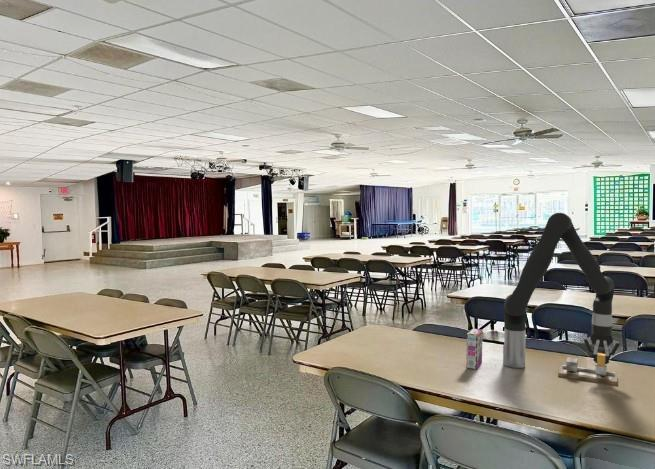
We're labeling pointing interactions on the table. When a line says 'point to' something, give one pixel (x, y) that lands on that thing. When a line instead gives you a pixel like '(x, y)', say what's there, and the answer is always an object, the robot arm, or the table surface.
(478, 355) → the candy bar box
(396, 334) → the table surface
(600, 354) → the block
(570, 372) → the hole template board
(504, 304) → the robot arm
